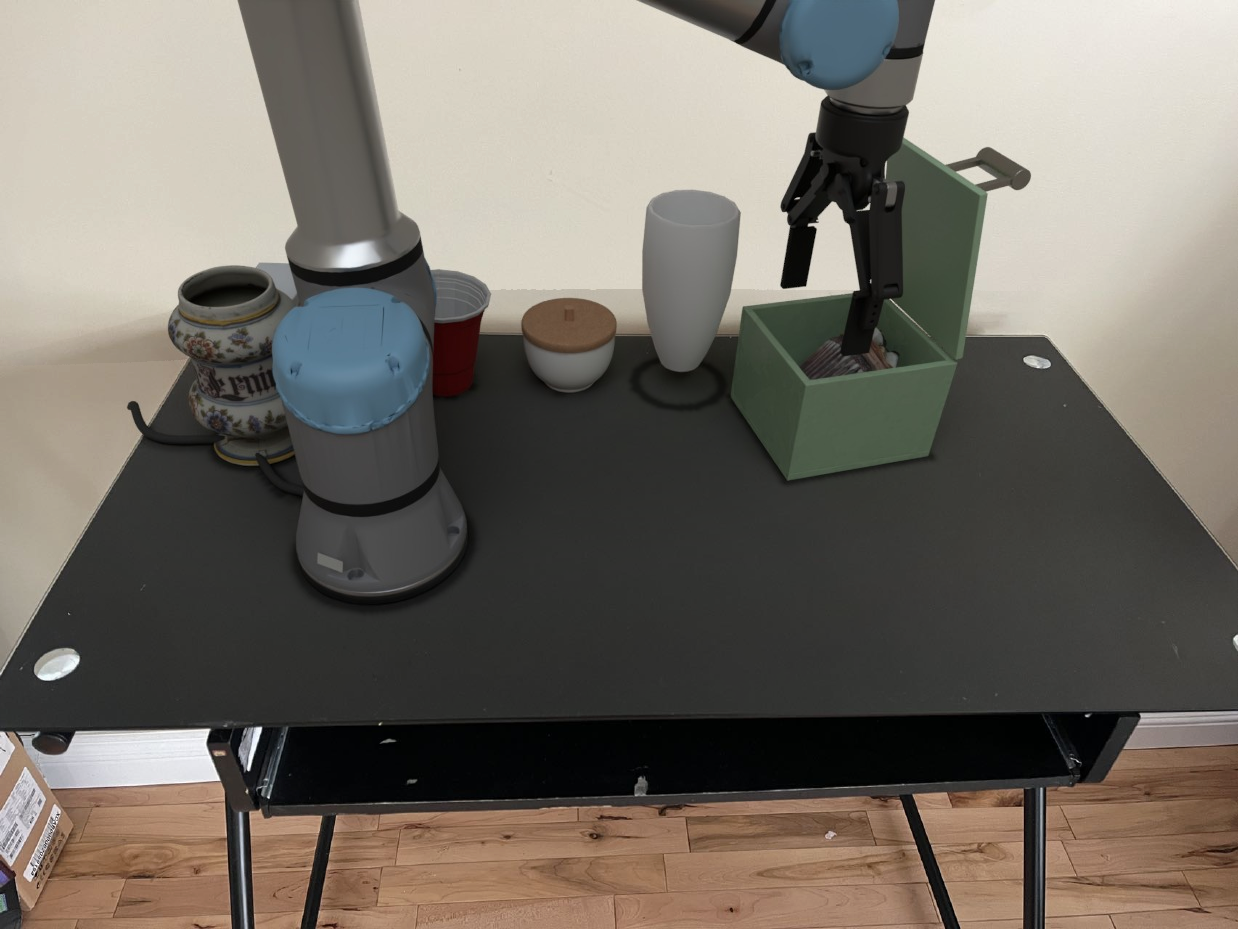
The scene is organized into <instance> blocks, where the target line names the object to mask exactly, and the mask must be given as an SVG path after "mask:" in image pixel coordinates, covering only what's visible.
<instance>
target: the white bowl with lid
mask: <svg viewBox="0 0 1238 929" xmlns="http://www.w3.org/2000/svg"><path fill="white" fill-rule="evenodd" d="M520 322H521V325H520V326H521V332H522V342H523V350H524V354H525V357H526V361H527V364H528V365H529V368H530V369H531V371H532V372H533V373H534V375H535V376H536V377H537V378H538V379H539V380H541V381H542V382H543V383H544V384H545V385H546V386H547V387H548V388H549V389H551V390H553V391H556V392H561V393H579V392H583V391H585V390H587V389H589V388H591V387H592V386H593V385H594V383H595V382H596V381H598V380H599V379H600V378H602V377H603V375H604V374H605V373H606V371H607V370H608V368H609V366H610V365H611V362H612V359H613V355H614V350H615V344H616V333H617V327H618V321H617V317H616V315H615V314H614V313H613V312H612V311H611V309H609V308H608V307H606V306H604V305H603V304H601V303H599V302H597V301H593V300H590V299H586V298H578V297H558V298H552V299H547V300H543V301H541V302H538V303H536V304H534V305H532V306H530V308H528V309H527V310H526V311H525V312H524V313H523V315H522V317H521V321H520Z"/></svg>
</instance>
